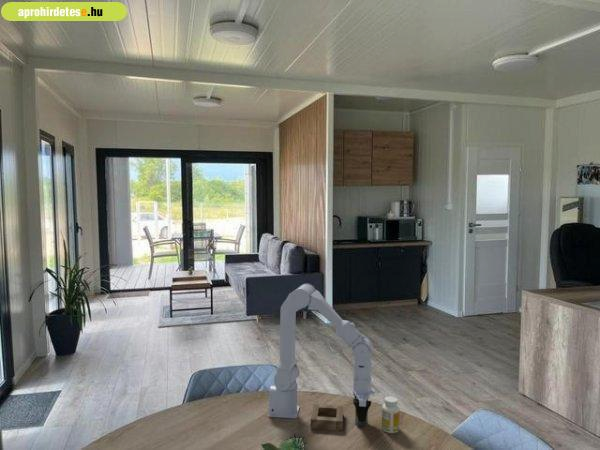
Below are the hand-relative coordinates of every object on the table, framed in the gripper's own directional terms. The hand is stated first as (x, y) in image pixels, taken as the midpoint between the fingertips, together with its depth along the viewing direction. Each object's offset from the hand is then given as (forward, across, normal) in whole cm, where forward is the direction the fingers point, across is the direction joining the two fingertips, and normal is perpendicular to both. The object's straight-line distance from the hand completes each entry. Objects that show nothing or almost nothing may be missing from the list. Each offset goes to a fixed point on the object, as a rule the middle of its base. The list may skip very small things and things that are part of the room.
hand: (361, 417), depth 137 cm
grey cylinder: (+2, 0, 0) cm, 2 cm away
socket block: (+2, 0, +11) cm, 11 cm away
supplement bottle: (+2, -2, -9) cm, 9 cm away
